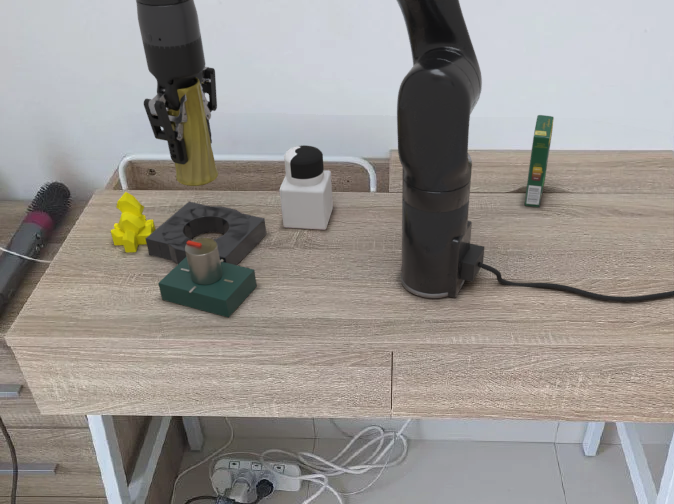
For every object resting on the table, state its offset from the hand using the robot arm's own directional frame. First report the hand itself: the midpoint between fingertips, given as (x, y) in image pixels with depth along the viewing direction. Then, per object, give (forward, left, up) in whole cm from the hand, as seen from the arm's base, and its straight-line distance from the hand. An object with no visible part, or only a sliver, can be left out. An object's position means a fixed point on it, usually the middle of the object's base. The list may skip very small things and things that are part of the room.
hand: (192, 152), depth 113 cm
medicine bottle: (-11, -13, -16) cm, 23 cm away
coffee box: (-44, -34, -16) cm, 58 cm away
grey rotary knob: (-7, +11, -13) cm, 18 cm away
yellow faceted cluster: (+12, +3, -16) cm, 20 cm away
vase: (0, 0, -4) cm, 4 cm away
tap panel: (-7, +11, -16) cm, 20 cm away
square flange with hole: (0, 0, -16) cm, 16 cm away
